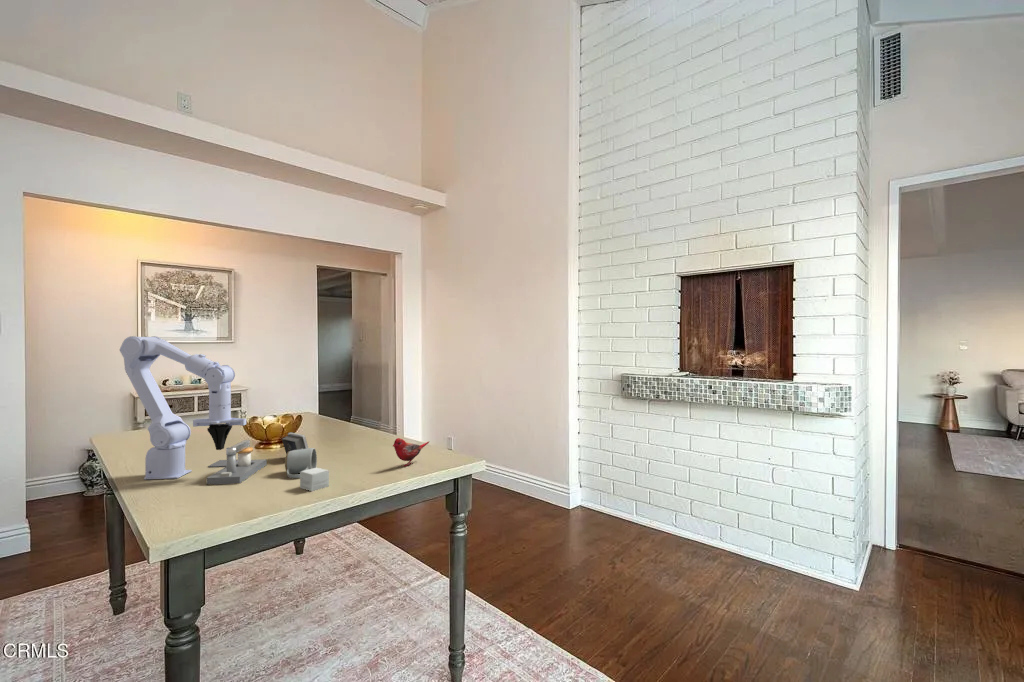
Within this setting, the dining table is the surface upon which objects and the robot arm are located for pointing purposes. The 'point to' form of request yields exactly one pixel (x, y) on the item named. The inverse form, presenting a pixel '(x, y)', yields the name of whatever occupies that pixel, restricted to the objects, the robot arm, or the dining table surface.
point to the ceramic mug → (300, 461)
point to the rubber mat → (219, 464)
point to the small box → (314, 479)
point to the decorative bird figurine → (407, 450)
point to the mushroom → (245, 457)
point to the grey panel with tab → (235, 471)
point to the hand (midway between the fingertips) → (220, 449)
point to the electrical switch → (294, 442)
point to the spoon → (237, 447)
